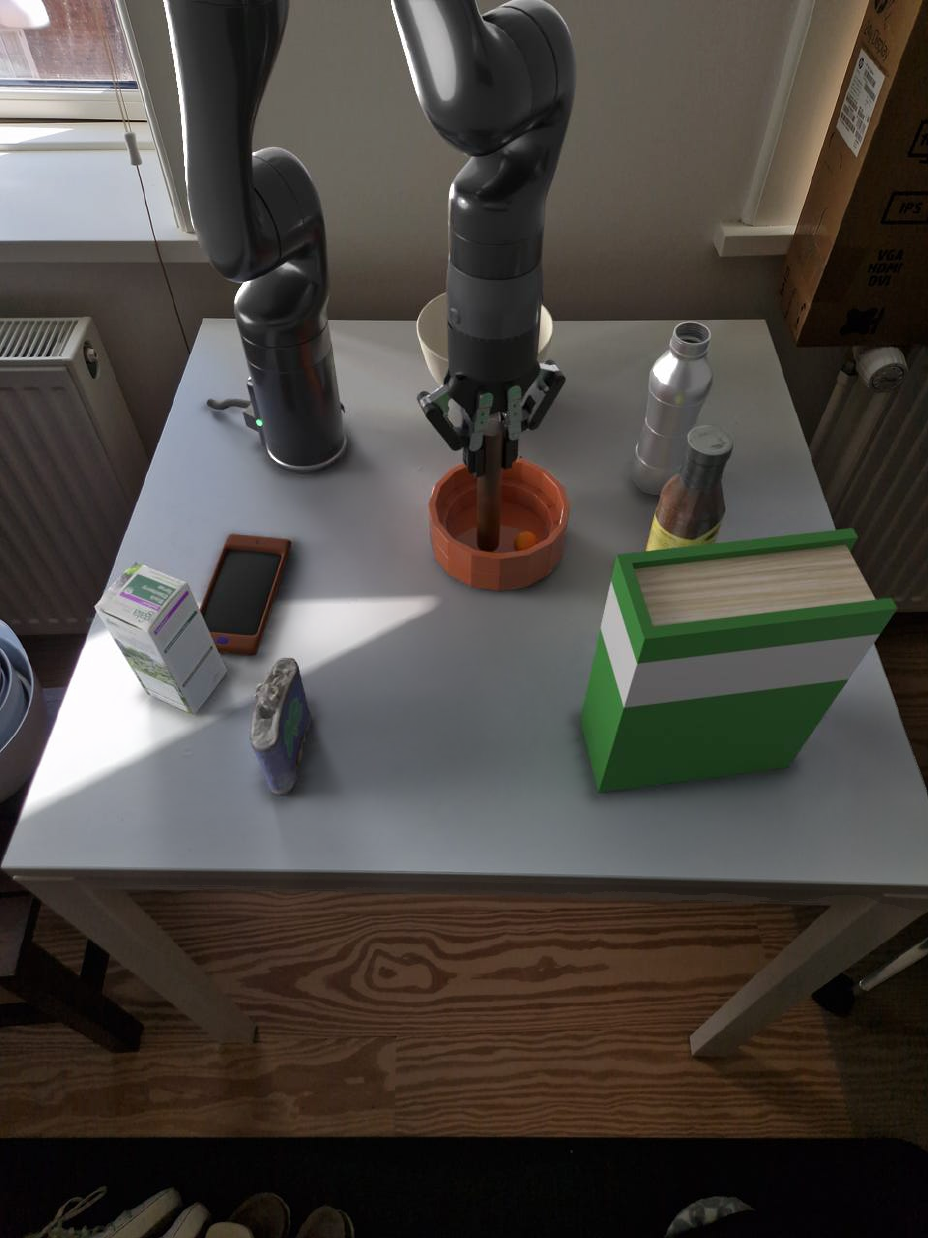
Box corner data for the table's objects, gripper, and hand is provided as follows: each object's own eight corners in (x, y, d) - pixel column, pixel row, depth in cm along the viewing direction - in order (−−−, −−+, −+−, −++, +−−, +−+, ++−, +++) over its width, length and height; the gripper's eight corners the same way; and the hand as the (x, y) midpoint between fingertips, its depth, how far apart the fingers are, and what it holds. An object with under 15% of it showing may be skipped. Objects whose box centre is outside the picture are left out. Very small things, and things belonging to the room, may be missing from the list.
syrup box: (229, 671, 83) (191, 578, 72) (194, 719, 80) (147, 630, 68) (181, 650, 85) (135, 556, 73) (144, 697, 82) (90, 606, 70)
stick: (472, 545, 90) (472, 429, 77) (484, 531, 91) (487, 414, 78) (491, 555, 89) (495, 439, 76) (503, 541, 91) (509, 424, 78)
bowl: (394, 403, 106) (388, 334, 98) (467, 338, 114) (467, 269, 106) (501, 454, 101) (505, 386, 93) (570, 382, 109) (579, 313, 101)
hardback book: (760, 697, 82) (852, 527, 62) (788, 767, 77) (897, 608, 58) (579, 720, 80) (616, 554, 61) (598, 792, 76) (644, 639, 56)
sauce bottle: (696, 615, 87) (748, 474, 71) (634, 605, 88) (672, 463, 72) (698, 566, 91) (748, 422, 75) (640, 557, 92) (677, 413, 76)
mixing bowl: (405, 556, 92) (401, 518, 87) (478, 477, 99) (479, 438, 94) (518, 616, 87) (521, 580, 82) (587, 529, 94) (594, 491, 89)
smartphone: (184, 645, 84) (227, 531, 92) (186, 650, 84) (229, 537, 93) (254, 652, 83) (291, 537, 92) (256, 658, 84) (293, 543, 93)
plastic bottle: (619, 493, 97) (650, 345, 81) (635, 455, 101) (668, 306, 85) (675, 509, 96) (717, 361, 80) (689, 469, 100) (732, 320, 83)
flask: (292, 798, 75) (270, 740, 67) (260, 794, 76) (233, 736, 67) (315, 708, 81) (297, 644, 72) (285, 705, 81) (263, 640, 72)
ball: (508, 554, 91) (509, 537, 89) (521, 538, 92) (522, 522, 90) (529, 564, 90) (530, 548, 88) (541, 549, 91) (543, 532, 89)
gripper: (554, 264, 71) (540, 425, 85) (395, 299, 68) (408, 460, 82) (594, 314, 67) (572, 474, 81) (427, 354, 64) (434, 513, 78)
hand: (489, 466), depth 81 cm, fingers closed on stick, 2 cm apart
